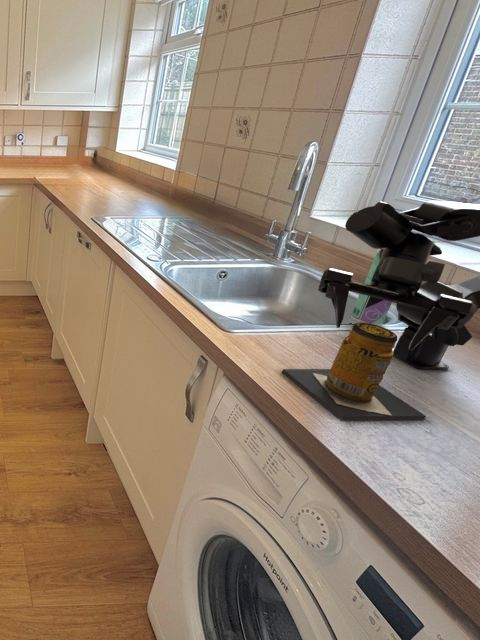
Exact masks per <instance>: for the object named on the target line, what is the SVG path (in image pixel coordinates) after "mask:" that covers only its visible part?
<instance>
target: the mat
mask: <svg viewBox="0 0 480 640" xmlns="http://www.w3.org/2000/svg"><path fill="white" fill-rule="evenodd" d="M330 369H331V368H283V369H282V370H281V373H282V374H283V376H285V377H286V378H287V379H288V380H290V381H291V382H293V383H294V384H295V385H296V386H297V387H298V388H300V389H302V391H303V392H305V393H306V394H308V396H310V397H311V398H312V399H314V400H315V401H316V402H317V403H318V404H320V405H321V406H322V407H323V408H325V409H326V410H327V411H328V412H330V414H332V415H333V416H334V417H335V418H337V419H338V420H339V421H341V422H349V421H351V422H352V421H356V422H357V421H361V422H362V421H424V420H425V419H426V417H427V415H426V414H424V413H423V412H421V411H419V410H418V409H417V408H415V407H413V406H411V404H409V403H407V402H406V401H404V400H403V399H401V398H400V397H398V396H396V395H395V394H394V393H393V392H391V391H389V390H387V389H386V388H385V387H383V386H382V385H379V387H378V388H377V390H376V391H375V394H374V395H373V396H374V397H375V398H376V399H377V400H378V401H379V402H381V404H382V405H383V406H384V407H385V408H386V409H387V410H388V411H389V412H390V414H391V415H387V414H380V413H377V412H367V411H366V410H361V409H356V408H352V407H348V406H343V405H340V404H337V403H336V402H335V401H334V399H333V398H332V397H331V396H330V395H329V393H328V392H327V390H326V389H324V387H323V386H322V385H321V384H320V382H319V381H318V380H317V378H316V377H315V375H314V374H313V373H315V374H320V375H324V376H328V374H329V371H330Z"/></svg>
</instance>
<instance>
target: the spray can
mask: <svg viewBox="0 0 480 640" xmlns="http://www.w3.org/2000/svg"><path fill="white" fill-rule="evenodd" d="M383 250H384V248H382V249H377V251H376V254H375V257H374V259H373V260H372V263H371V266H370V268H369V270H368V273H367V275H366V277H365V280H364V282H363V283H364V284H368V285H370V282H371V280H372V277H373V275H374V272H375V270H376V267H377V265H378V262H379V260H380V258H381V255H382V253H383ZM392 304H393V302H390V301H386V300H383V299H379V298H375V297H371V296H367V295H363V294H359V293H358V297H357V299H356V301H355V304H354V306H353V308H352V311H351V313H350V316H349V317H350V319H351V320H352V321H354V322H356V323H358V322H365V323H371V324H375V325H378V326H381V327H382V325H383V324H384V322H385V319H386V317H387V314H388V312H389V310H390V308H391V306H392Z"/></svg>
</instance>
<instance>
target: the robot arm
mask: <svg viewBox="0 0 480 640" xmlns="http://www.w3.org/2000/svg"><path fill="white" fill-rule="evenodd" d="M344 225H345V226H344V227H345V229H346V231H347V232H349V233H350V234H352V235H353V236H355V237H356V238H358V240H360V241H361V242H363V243H365V244H366V245H367V246H369V247H370V248H372V249H376V250H379V249H382V248H384V250H383V253H382V255H381V258H380V260H379V262H378V265H377V267H376V270H375V272H374V275H373V277H372V280H371V282H370V285H368V284H364V282H359V281H355V280H352V278H353V275H354V273H353V272H348V271H345V270H340V269H337V268H332V267H329V268H327V269H325V270H324V271H323V273H322V275H321V278H320V281H319V285H318V289H317V290H318V292H320V293H323V294H325V295H324V297H325V298H327V299H330V300H331V303H332V307H333V309H334V316H335V326H336V327H335V328H337V329H340V328H341V325H342V322H343V320H344V317H345V312H346V308H347V302H348V297H349V294H350V292H352V293H355V294H358V295H359V294H363V295H367V296H371V297H375V298H379V299H383V300H386V301H390V302H392V303H393V304H394V303H395V304H396V306H395V308H396V311H397V312H398V313H397V319H398V321H400V322H402V323H404V324H405V325H407V326H406V327H405V328H404V329H403V331H402V334H400V336H399V338H398V339H397V341H396V343H395V346H394V348H393V349H392V350H393V356H395V357H396V358H398V359H400V360H401V361H403V362H405V363H407V364H409V365H410V366H412V367H414V368H416V369H419V370H448V369H449V368H450V366H449V365H447V364H446V363H444V362H443V361H442V359H443V358H444V356H445V354H446V352H447V350H448V348H449V347H455V346H464V345H465V344H467V343H468V342H469V341H470V340H472V338H473V336H472V334H471V332H470V331H469V330H468V328H467V327H466V326H465V325H466V324H467V323H468V322H470V321H471V320H472V318H473V317H474V315H475V314H476V313H477V311H478V310H479V309H480V275H477V276H475V277H472V278H469V279H466V280H464V281H461V282H459V283H456V284H449V285H448V284H444V283H443V282H440V279H441V276H442V274H443V271H444V268H445V266H446V264H445V263H442V262H438V261H434V260H433V261H432V260H429V257H430V256H438V255H439V256H440V255H442V254H443V251H442V249H441V247H440V246H438V245H437V244H436V242H435V240H433V239H432V240H431V238H429V237H427V236H430V237H436V238H439V239H442V240H445V241H448V242H458V241H463V240H469V239H473V238H474V239H475V238H478V237H480V204H476V203H475V204H474V203H466V202H459V201H445V200H431V201H426V202H423V203H422V204H421V205H420V206H419V207H415V208H412V209H408V210H403V211H400V212H399V211H397V210H396V209H395V207H394V206H392V205H391V204H390V203H387V202H384V201H378V202H376V203H375V204H374V205H372V206H371V205H370V206H367V207H363V208H361V209H359V210H358V211H354V212H353V213H352V214H351V215H350V216H349V217H348V218H347V219H346V222H345V224H344ZM413 231H415V232H417V233H415V232H413ZM426 235H427V236H426ZM428 260H429V261H428ZM423 282H424V283H423Z"/></svg>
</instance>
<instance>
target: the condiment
mask: <svg viewBox="0 0 480 640" xmlns="http://www.w3.org/2000/svg"><path fill="white" fill-rule="evenodd" d="M397 342H398V335H397V334H396V332H393V331H392V330H390V329H388V328H386V327H384V326H382V325H381V326H378V325H375V324H371V323H365V322H356V323H353V325H352V326H351V330H349V334H348V335H346V336H344V338H343V340H342V342H341V344H340V347H339V349H338V351H337V353H336V355H335V358H334V360H333V362H332V365H331V367H330V368H329V369H330V371H329V374H328V376H324V375H320V374H315V373H313V374H314V375H315V377H316V378H317V380H318V381H319V382H320V384H321V385H322V386H323V387H324V389H326V390H327V392H328V393H329V395H330V396H331V397H332V398H333V399H334V401H335V402H336V403H337V404H340V405H343V406H348V407H352V408H356V409H361V410H366V411H367V412H377V413H380V414H387V415H391V414H390V412H389V411H388V410H387V409H386V408H385V407H384V406H383V405H382V404H381V402H379V401H378V400H377V399H376V398H375V397H374V396H373V395H374V394H375V391H376V390H377V388H378V387H379V385H380V383H381V382H382V381H383V379H384V376H385V374H386V372H387V370H388V369H389V366H390V364H391V361H392V360H393V358H394V355H393V350H392V349H393V348H395V346H396V343H397ZM380 386H381V385H380Z"/></svg>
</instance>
